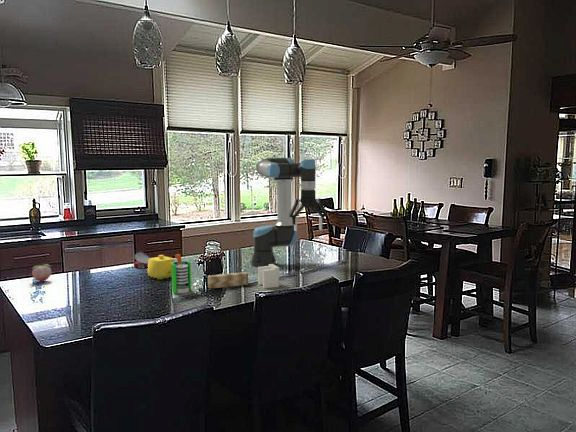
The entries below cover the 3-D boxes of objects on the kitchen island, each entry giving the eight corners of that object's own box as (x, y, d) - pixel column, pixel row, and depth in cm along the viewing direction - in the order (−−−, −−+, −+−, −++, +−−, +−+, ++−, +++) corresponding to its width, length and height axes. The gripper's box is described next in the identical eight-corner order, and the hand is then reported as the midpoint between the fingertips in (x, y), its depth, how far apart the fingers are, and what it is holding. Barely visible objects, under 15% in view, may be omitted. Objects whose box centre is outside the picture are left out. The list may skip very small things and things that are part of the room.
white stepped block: (258, 284, 246) (257, 265, 244) (273, 282, 249) (272, 263, 248) (264, 288, 237) (263, 269, 236) (279, 286, 240) (279, 267, 239)
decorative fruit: (48, 278, 260) (47, 260, 259) (54, 281, 254) (52, 262, 253) (29, 281, 254) (28, 263, 252) (34, 284, 248) (33, 265, 247)
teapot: (182, 277, 262) (182, 256, 260) (163, 281, 253) (162, 259, 251) (162, 271, 275) (162, 251, 274) (143, 275, 266) (142, 254, 265)
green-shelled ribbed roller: (180, 294, 227) (178, 257, 225) (168, 292, 231) (166, 255, 229) (193, 290, 235) (192, 254, 233) (181, 287, 239) (180, 252, 237)
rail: (209, 289, 238) (209, 277, 237) (207, 287, 241) (207, 275, 240) (247, 284, 245) (247, 273, 245) (245, 283, 249) (245, 271, 248)
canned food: (147, 272, 294) (154, 257, 295) (147, 274, 284) (155, 258, 286) (129, 265, 291) (137, 250, 292) (129, 266, 281) (137, 251, 283)
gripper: (286, 190, 239) (286, 232, 241) (333, 189, 245) (333, 230, 248) (282, 189, 246) (283, 230, 248) (328, 188, 252) (328, 228, 255)
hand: (308, 230), depth 248 cm, fingers open, 13 cm apart
